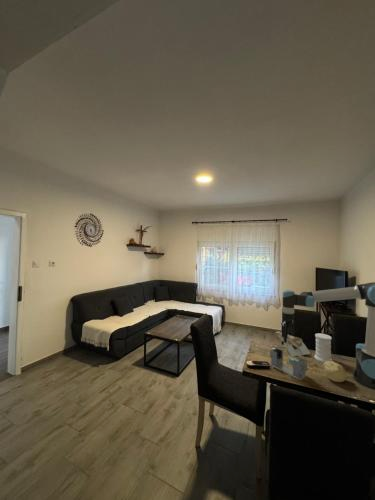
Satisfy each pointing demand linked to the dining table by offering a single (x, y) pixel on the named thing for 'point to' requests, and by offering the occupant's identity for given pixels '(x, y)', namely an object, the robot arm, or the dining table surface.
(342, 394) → the dining table surface
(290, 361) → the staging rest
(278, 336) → the rail
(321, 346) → the decorative container
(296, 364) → the bracket stand
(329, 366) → the pale yellow round lump
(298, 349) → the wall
